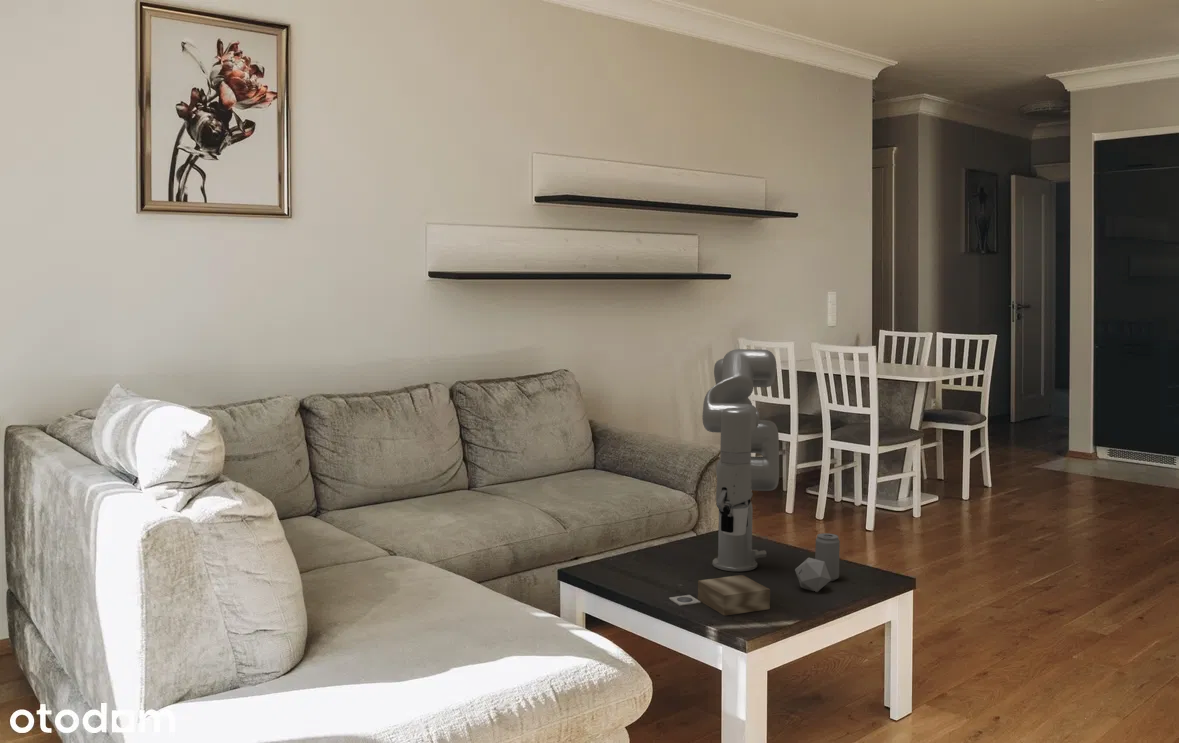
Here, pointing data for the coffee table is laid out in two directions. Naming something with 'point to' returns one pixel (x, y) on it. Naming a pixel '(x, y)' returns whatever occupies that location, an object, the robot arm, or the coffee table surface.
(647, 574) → the coffee table surface
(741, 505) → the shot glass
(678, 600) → the tile
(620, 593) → the coffee table surface
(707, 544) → the coffee table surface
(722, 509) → the robot arm
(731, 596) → the oak block
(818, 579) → the die
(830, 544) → the beverage can
